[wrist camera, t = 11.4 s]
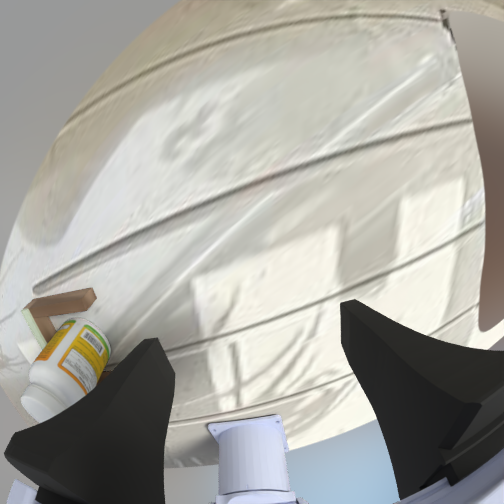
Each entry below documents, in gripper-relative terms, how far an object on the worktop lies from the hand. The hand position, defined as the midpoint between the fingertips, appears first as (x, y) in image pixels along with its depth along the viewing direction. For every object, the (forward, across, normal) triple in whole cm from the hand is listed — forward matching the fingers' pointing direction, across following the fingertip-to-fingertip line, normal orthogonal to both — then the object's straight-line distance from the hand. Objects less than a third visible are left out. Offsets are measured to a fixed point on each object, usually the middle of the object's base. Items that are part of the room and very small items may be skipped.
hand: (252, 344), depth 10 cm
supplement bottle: (+10, +16, +5) cm, 19 cm away
